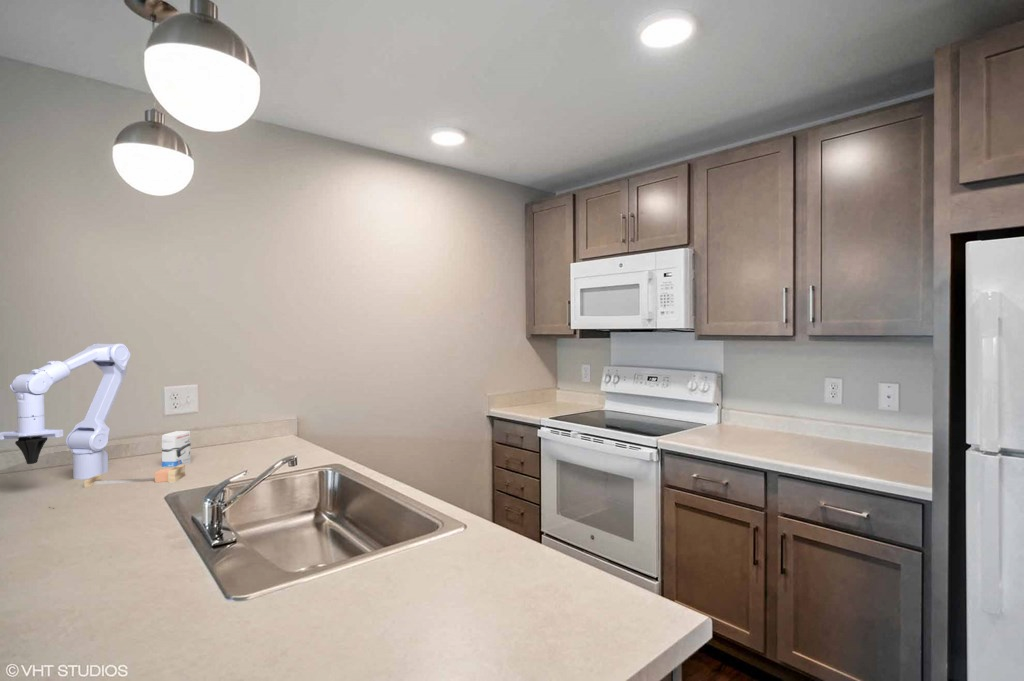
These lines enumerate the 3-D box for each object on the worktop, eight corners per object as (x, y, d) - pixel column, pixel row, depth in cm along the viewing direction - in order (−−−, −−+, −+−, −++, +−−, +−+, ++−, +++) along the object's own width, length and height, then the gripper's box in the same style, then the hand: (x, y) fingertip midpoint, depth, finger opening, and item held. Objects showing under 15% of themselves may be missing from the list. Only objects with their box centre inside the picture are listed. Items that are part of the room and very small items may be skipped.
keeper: (162, 477, 160) (161, 468, 160) (176, 477, 161) (176, 467, 160) (154, 482, 155) (154, 472, 155) (169, 481, 156) (169, 472, 156)
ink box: (175, 469, 173) (175, 435, 173) (161, 469, 173) (160, 435, 173) (191, 463, 181) (191, 430, 181) (177, 463, 182) (177, 430, 181)
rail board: (98, 484, 157) (97, 469, 157) (184, 479, 162) (184, 465, 162) (84, 491, 150) (84, 476, 150) (175, 485, 155) (175, 471, 155)
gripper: (-11, 419, 140) (-10, 468, 140) (51, 417, 143) (52, 465, 143) (8, 415, 147) (10, 461, 147) (67, 413, 150) (68, 459, 150)
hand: (32, 463), depth 146 cm, fingers closed
